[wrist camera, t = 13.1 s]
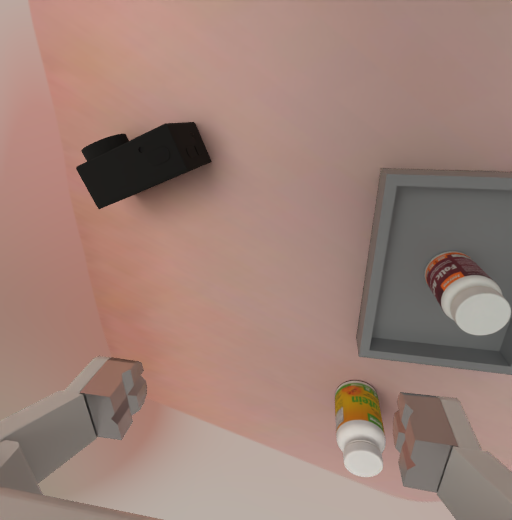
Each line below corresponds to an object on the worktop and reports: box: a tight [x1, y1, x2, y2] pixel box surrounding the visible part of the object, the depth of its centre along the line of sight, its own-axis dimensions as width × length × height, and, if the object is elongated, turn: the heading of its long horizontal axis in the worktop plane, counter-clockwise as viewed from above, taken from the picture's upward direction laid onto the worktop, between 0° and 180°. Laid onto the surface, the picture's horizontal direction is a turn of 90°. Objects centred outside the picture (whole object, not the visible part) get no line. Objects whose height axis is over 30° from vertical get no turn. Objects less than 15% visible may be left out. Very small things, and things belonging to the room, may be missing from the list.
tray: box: [356, 168, 512, 375], centre depth 34 cm, size 20×16×4 cm
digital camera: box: [76, 122, 211, 209], centre depth 34 cm, size 10×5×7 cm, turn 113°
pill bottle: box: [425, 251, 511, 335], centre depth 31 cm, size 5×5×8 cm
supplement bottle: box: [335, 381, 386, 477], centre depth 40 cm, size 5×5×10 cm
